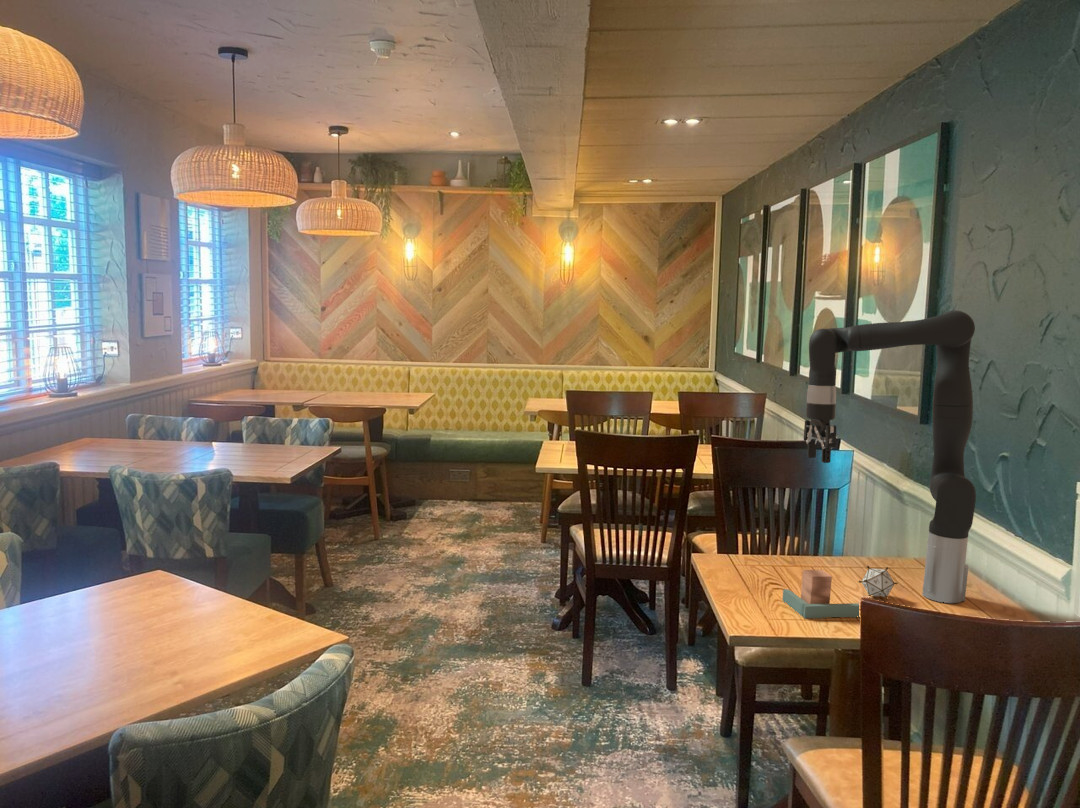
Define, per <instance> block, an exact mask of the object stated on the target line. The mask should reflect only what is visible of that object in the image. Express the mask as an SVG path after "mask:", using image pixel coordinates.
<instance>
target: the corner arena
mask: <svg viewBox="0 0 1080 808" xmlns="http://www.w3.org/2000/svg"><path fill="white" fill-rule="evenodd" d="M782 600H783V601H784V602H783V601H782V602H783V603H785V602H786V603H787V604H788V605H789V606H790V607H789V606H788V605H787V604H786V603H785V604H786V605H787V606H788V607H789V608H791V607H792V608H793V609H794V610H795V611H794V610H793V609H792V608H791V609H792V610H793V611H794V612H796V611H797V612H798V613H799V614H800V616H801V615H802V616H803V617H804V618H803V617H802V616H801V617H802V618H803V619H826V618H825V617H851V619H854V618H855V619H856V617H857V616H858V618H859V603H858V602H856V603H854V602H853V603H850V602H849V603H848V602H847V603H830V604H808V603H806V602H805V601H804V600H802V599H801V596H798V595H797V594H795V592H793V591H792V590H790V589H787V588H786V589H782ZM797 612H796V613H797ZM798 613H797V614H798ZM799 614H798V615H799ZM822 617H824V618H822ZM852 617H854V618H852ZM859 619H860V618H859Z"/></svg>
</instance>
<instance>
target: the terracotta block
mask: <svg viewBox="0 0 1080 808" xmlns="http://www.w3.org/2000/svg"><path fill="white" fill-rule="evenodd" d="M832 578H833V576H832V575H830V574H829V573H827V572H826V571H824V570H823V569H803V570H802V578H801V580H802V581H801V591H800V598H801V599H802V600H804V601H805V602H806V603H808V604H831V602H830V600H831V590H832V580H833V579H832Z"/></svg>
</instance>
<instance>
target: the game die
mask: <svg viewBox="0 0 1080 808" xmlns="http://www.w3.org/2000/svg"><path fill="white" fill-rule="evenodd" d="M866 568H867V571H866V572H865V575H863V577H862V580H858V581H857V582H858V583H860V584H862V585H863V587H864V589H865V591H866V593H867V594H868V596H870V597H880V596H882V597H881V598H886V597H888V596H889V595H890V592H891V591H892V589H893V587H894V585H898V584H899V583H898V582H896V581H895V580H893V577H891V575H890V573H889V571H888V569H889V566H886V567H885V569H884V568H874V567H873V568H872V567H870V566H869V565H866ZM871 595H873V596H871Z"/></svg>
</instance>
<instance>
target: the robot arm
mask: <svg viewBox="0 0 1080 808" xmlns="http://www.w3.org/2000/svg"><path fill="white" fill-rule="evenodd" d="M975 331H976V325H975V322H974V319H973V318H972V317H971V316H970V315H969V314H968V313H966V312H964V311H961V310H950V311H946V312H944V313H942V314H938V315H935V316H932V317H927V318H923V319H922V318H921V319H918V320H909V321H897V322H896V321H893V322H875V323H865V324H855V325H851V326H848V327H847V326H846V327H835V328H834V327H833V328H831V327H830V328H819V329H817V330H814V331H813V333H812V334H811V335H810V337H809V340H808V355H809V356H808V358H809V370H808V371H809V373H808V387H807V393H806V411H805V412H806V413H805V417H806V419H805V420H804V426H803V427H804V429H803V441H804V442H806V445H807V450H806V452H807V453H806V456H807V458H809V459H815V458H816V457H817V455H816V454H817V442H818V443H820V446H821V462H822V463H824V464H829V463H831V456H832V455H831V454H832V453H831V452H832V449H833V448H835V449H836V447H837V425H831V421H833V420H835V418H836V407H837V406H836V405H837V403H836V402H837V389H836V387H837V386H836V383H837V368H836V363H835V362H836V354H837V353H839V354H840V353H844V352H863V351H865V352H867V351H874V350H875V351H876V350H884V349H885V350H886V349H891V348H898V347H904V346H905V347H907V346H916V345H917V346H919V345H921V346H922V345H925V346H926V345H929V346H931V345H932V346H933V345H935V347H936V358H937V359H936V360H937V361H936V364H937V365H936V367H937V368H936V374H935V379H934V387H933V395H932V440H933V441H932V445H933V456H932V457H933V458H932V466H931V474H930V482H929V492H930V494H931V497H932V499H934V501H935V508H934V514H933V515H934V516H933V518H932V519H931V520H930V521H929V523H928V534H927V535H928V537H927V545H926V546H927V547H926V555H925V565H924V573H923V574H924V575H923V585H922V593H921V594H922V595H923V597H924V598H926V599H929V600H932V601H934V602H938V603H943V602H944V603H945V604H959V603H961V602H965V601H966V594H967V586H968V575H969V565H967V564H966V561H967V559H966V558H967V552H968V550H967V549H968V541H969V532H970V530H971V528H972V525H973V521H974V515H975V507H976V499H977V498H976V497H977V494H976V488H975V485H974V484H973V482H972V481H971V480H970V479H968V478H967V477H966V475H965V466H964V465H965V463H964V455H965V454H964V453H965V448H966V447H967V446H966V445H967V442H968V439H969V436H970V434H971V430H972V425H973V415H974V411H973V410H974V407H973V406H974V401H973V400H974V399H973V388H972V387H973V386H972V379H971V372H970V363H969V362H970V352H971V344H972V338H973V336H974V335H975Z"/></svg>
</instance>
